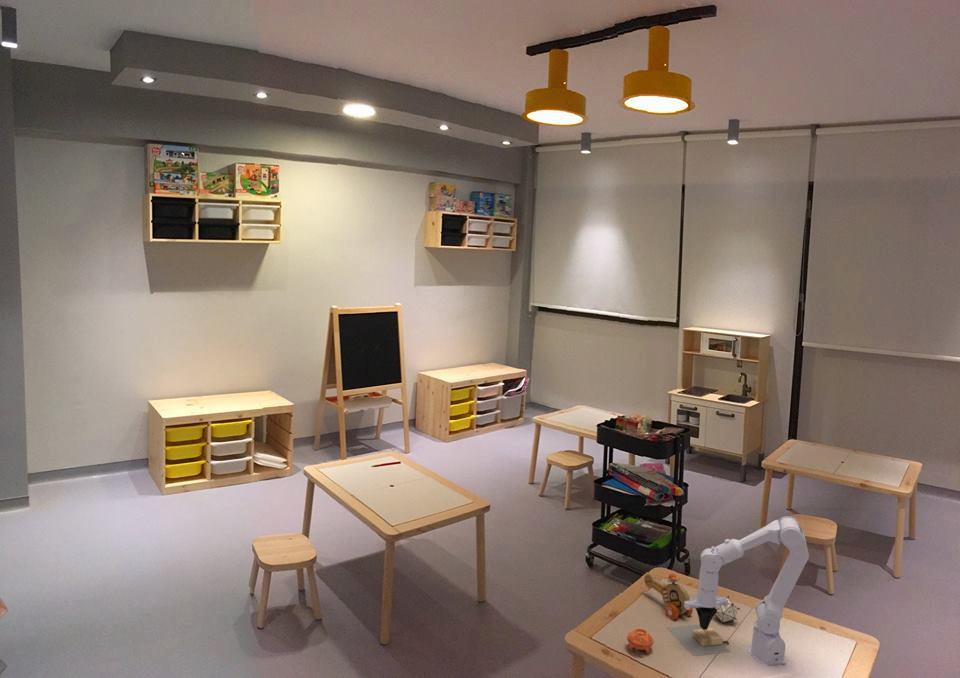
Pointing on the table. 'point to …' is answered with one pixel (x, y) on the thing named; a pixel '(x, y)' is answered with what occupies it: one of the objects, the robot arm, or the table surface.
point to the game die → (727, 611)
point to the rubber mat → (695, 641)
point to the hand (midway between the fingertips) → (703, 628)
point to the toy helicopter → (670, 595)
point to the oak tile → (707, 637)
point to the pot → (640, 640)
